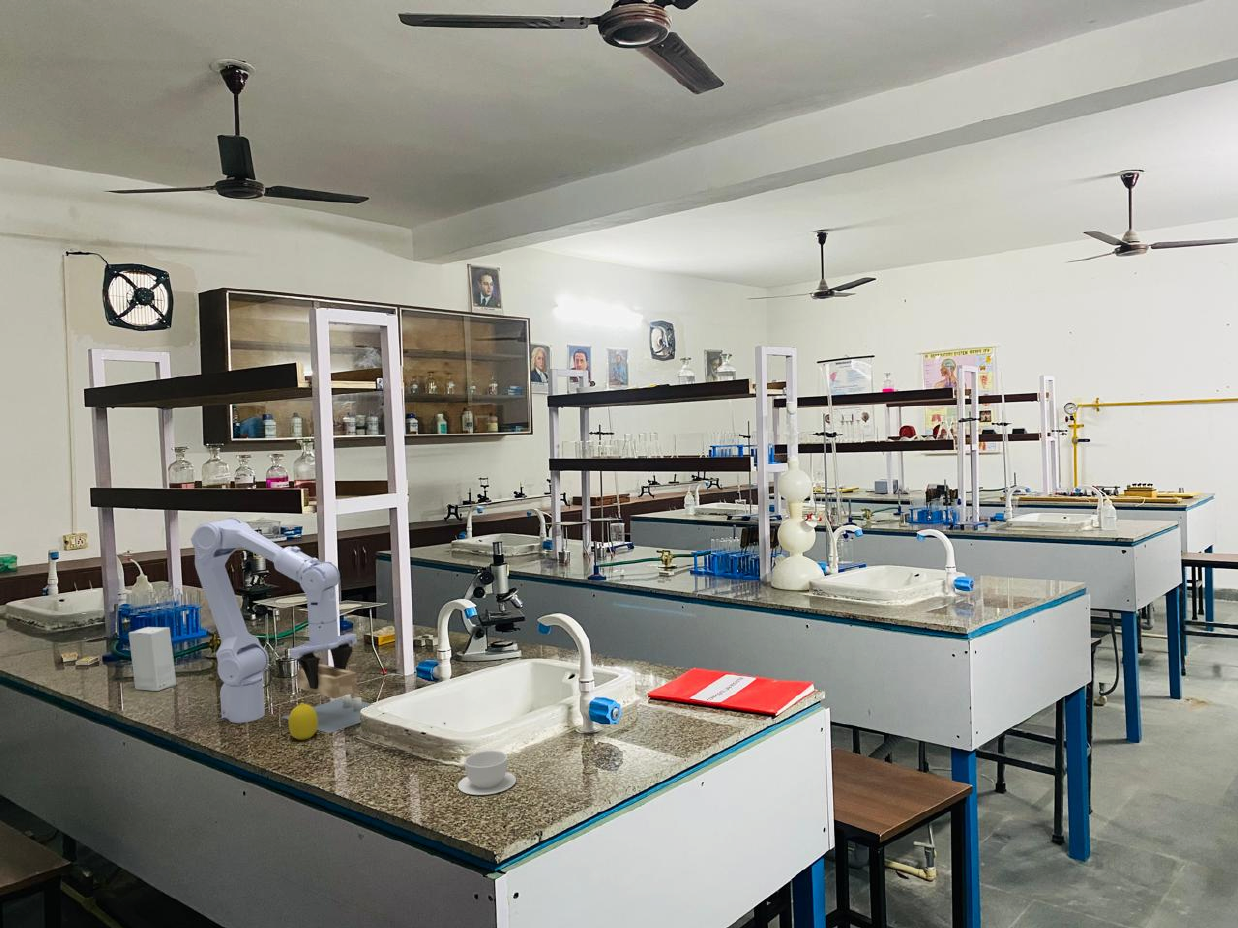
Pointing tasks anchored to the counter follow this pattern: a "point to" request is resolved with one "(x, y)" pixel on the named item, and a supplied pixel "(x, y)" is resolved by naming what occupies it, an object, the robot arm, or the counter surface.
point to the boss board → (338, 713)
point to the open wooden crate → (330, 681)
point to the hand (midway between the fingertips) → (326, 684)
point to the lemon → (303, 722)
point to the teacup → (486, 773)
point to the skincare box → (152, 658)
